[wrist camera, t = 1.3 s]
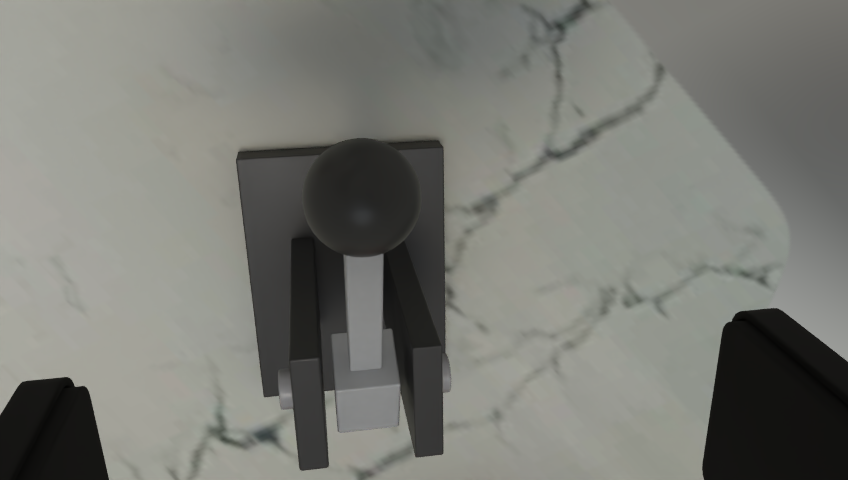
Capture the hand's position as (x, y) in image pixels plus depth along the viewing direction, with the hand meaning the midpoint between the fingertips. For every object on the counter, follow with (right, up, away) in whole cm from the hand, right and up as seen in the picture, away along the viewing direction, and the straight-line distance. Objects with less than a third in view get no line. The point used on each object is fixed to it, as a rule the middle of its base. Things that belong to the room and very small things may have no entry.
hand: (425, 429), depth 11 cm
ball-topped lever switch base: (-4, +1, +25) cm, 25 cm away
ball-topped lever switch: (-2, +2, +14) cm, 14 cm away
